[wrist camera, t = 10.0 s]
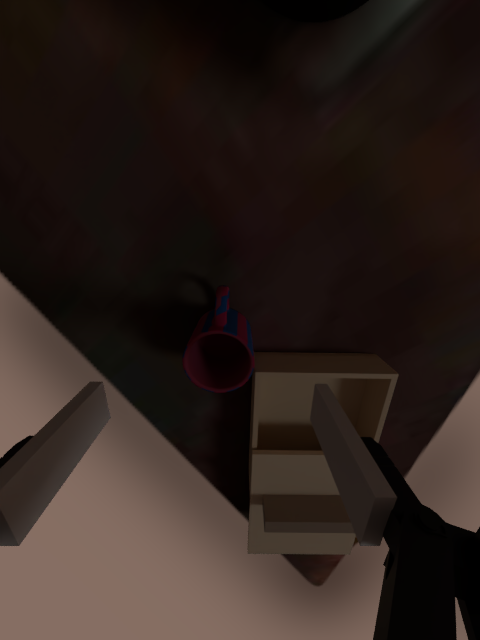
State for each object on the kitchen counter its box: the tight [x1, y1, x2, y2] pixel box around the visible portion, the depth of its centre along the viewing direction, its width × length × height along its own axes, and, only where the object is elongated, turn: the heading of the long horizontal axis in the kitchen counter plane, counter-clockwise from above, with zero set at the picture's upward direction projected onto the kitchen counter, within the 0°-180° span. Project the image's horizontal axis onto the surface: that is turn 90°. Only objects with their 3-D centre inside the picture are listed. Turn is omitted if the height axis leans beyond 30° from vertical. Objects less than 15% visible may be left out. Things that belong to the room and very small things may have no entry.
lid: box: [248, 450, 356, 554], centre depth 29 cm, size 20×15×4 cm
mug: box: [183, 285, 255, 393], centre depth 24 cm, size 7×10×7 cm
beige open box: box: [249, 352, 399, 492], centre depth 30 cm, size 20×15×4 cm
